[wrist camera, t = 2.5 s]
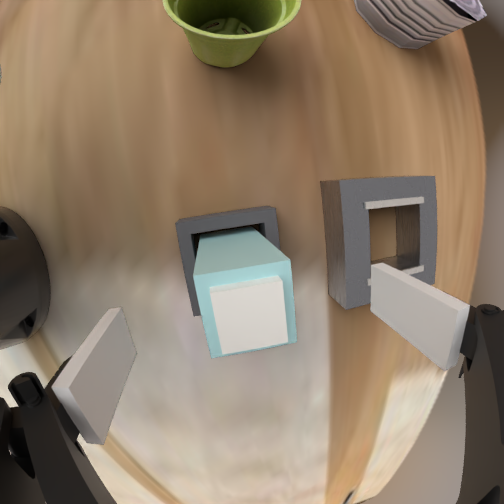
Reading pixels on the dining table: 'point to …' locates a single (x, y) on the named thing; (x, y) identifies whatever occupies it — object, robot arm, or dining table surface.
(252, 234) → the plug
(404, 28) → the can
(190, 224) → the holster
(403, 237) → the port block
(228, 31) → the plant pot
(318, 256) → the dining table surface
